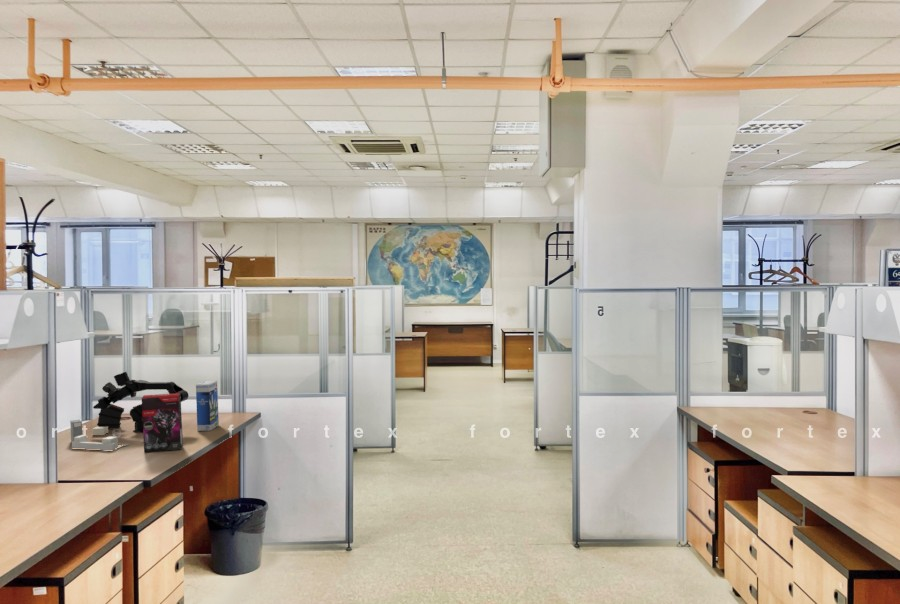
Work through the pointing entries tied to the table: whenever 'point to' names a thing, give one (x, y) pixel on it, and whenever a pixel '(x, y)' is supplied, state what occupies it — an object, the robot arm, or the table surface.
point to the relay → (100, 430)
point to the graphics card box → (162, 422)
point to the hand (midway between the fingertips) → (98, 404)
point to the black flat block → (110, 417)
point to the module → (75, 429)
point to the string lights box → (207, 405)
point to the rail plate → (106, 444)
